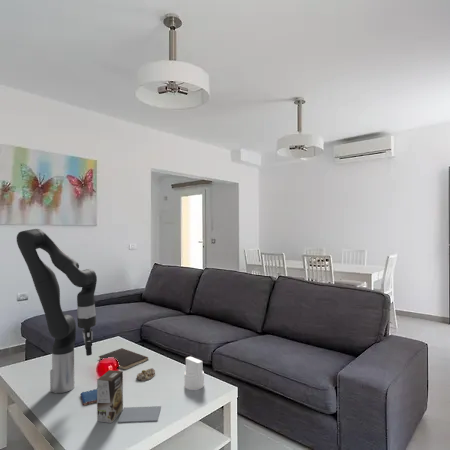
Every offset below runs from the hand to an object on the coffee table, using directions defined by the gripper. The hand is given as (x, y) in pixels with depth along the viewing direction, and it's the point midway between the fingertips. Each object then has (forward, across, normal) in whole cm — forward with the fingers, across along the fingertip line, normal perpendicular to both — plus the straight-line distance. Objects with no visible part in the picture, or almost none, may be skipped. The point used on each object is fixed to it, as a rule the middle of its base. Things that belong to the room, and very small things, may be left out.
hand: (88, 351), depth 150 cm
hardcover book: (+21, -34, +19) cm, 44 cm away
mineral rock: (+21, -7, +26) cm, 34 cm away
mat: (+20, +25, +17) cm, 36 cm away
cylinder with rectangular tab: (+21, +12, +44) cm, 50 cm away
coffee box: (+20, +21, +6) cm, 29 cm away
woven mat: (+20, +3, +1) cm, 20 cm away
